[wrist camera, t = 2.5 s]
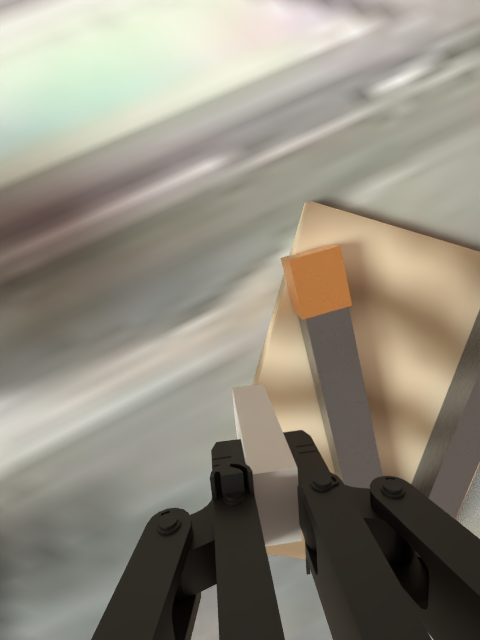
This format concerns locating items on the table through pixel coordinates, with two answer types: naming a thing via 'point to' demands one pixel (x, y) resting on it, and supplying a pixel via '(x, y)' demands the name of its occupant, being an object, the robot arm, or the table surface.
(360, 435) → the bar
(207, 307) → the table surface
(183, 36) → the table surface
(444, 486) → the bar
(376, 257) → the serving board
